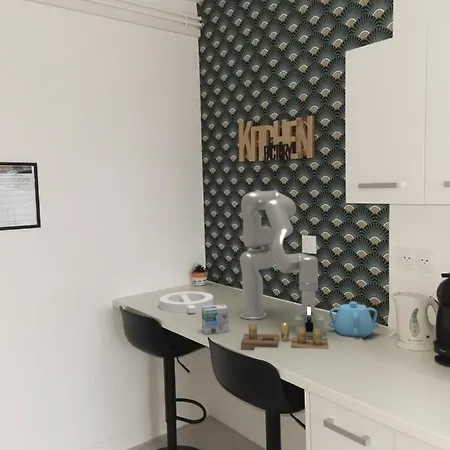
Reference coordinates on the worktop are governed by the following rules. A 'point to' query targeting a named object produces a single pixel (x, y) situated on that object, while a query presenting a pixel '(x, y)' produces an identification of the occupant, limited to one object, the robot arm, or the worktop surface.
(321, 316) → the cover
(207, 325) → the light bulb box
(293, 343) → the board
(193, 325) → the worktop surface
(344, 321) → the decorative pot
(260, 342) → the build board
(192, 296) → the ring with crossbar
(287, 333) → the pin
